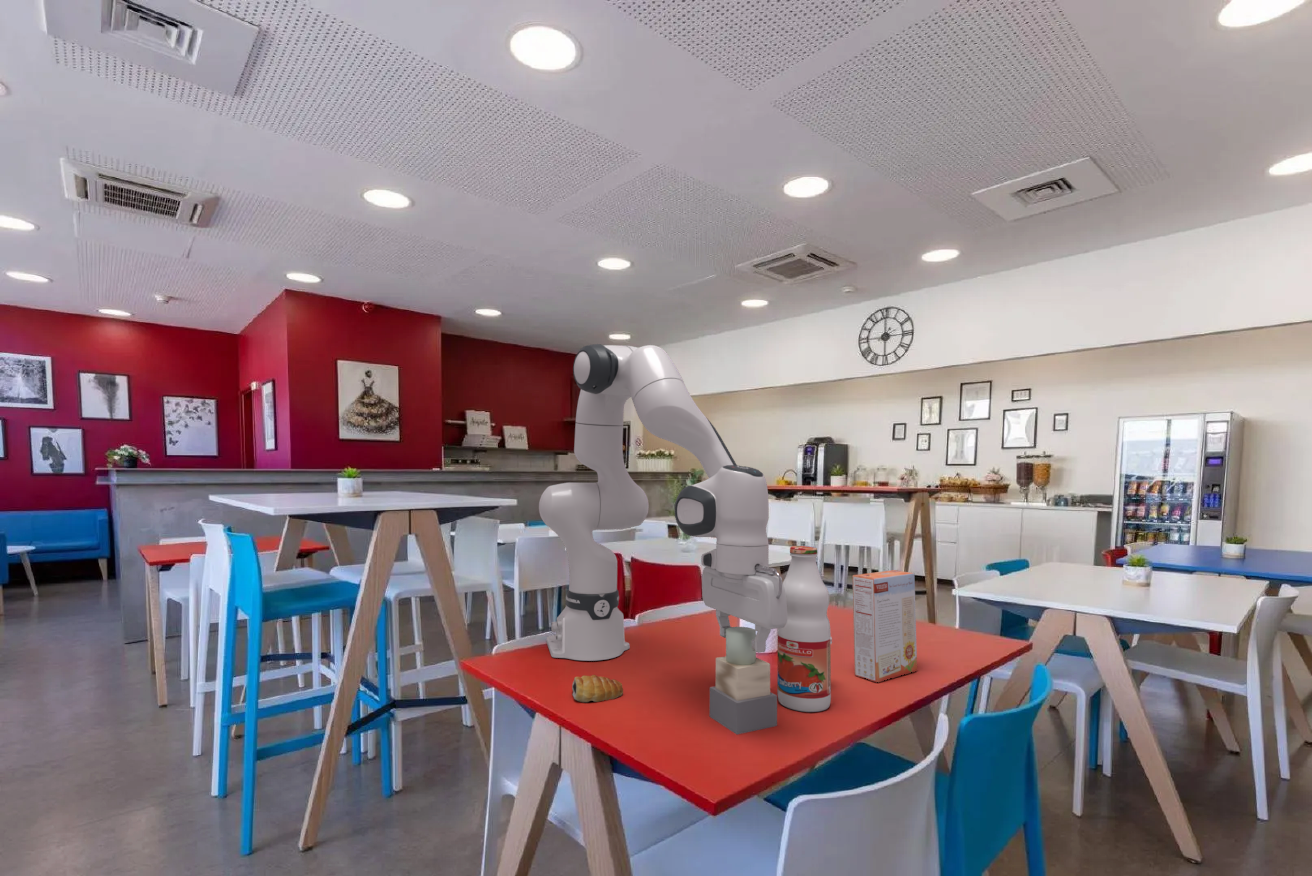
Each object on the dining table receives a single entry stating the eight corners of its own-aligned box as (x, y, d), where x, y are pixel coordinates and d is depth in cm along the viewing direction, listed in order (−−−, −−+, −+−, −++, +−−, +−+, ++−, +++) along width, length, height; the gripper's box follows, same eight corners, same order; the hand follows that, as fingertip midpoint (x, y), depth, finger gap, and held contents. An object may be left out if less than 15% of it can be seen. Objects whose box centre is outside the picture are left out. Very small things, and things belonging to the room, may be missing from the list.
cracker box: (893, 665, 132) (892, 569, 133) (918, 672, 127) (916, 572, 128) (851, 675, 124) (851, 573, 126) (876, 684, 119) (875, 577, 121)
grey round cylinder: (720, 658, 102) (720, 628, 102) (745, 654, 104) (745, 625, 104) (736, 666, 97) (736, 635, 98) (761, 663, 99) (761, 632, 100)
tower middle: (715, 687, 102) (715, 657, 102) (747, 682, 105) (747, 653, 105) (737, 700, 96) (737, 668, 96) (770, 694, 99) (770, 663, 99)
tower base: (709, 717, 102) (709, 687, 102) (747, 709, 105) (748, 680, 106) (736, 735, 95) (736, 703, 95) (777, 726, 98) (776, 695, 99)
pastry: (618, 688, 115) (618, 668, 115) (626, 701, 109) (627, 680, 109) (569, 692, 112) (570, 672, 113) (575, 706, 106) (575, 684, 106)
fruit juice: (840, 703, 108) (839, 547, 110) (813, 718, 102) (812, 551, 104) (795, 690, 115) (795, 543, 117) (767, 702, 108) (767, 546, 110)
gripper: (797, 568, 94) (797, 658, 93) (725, 553, 112) (724, 628, 111) (764, 570, 91) (764, 663, 90) (696, 554, 109) (695, 631, 108)
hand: (741, 644), depth 101 cm, fingers open, 8 cm apart
